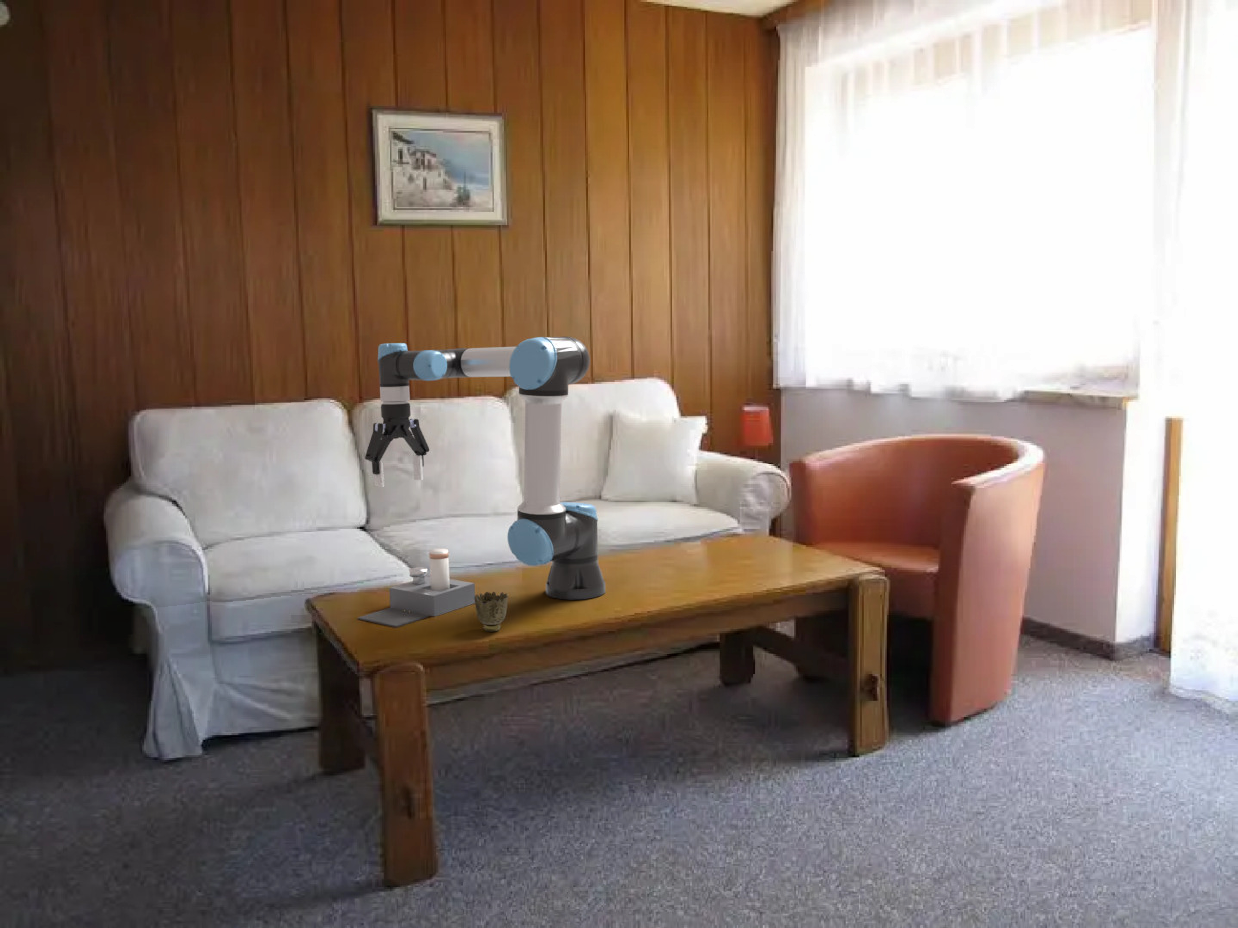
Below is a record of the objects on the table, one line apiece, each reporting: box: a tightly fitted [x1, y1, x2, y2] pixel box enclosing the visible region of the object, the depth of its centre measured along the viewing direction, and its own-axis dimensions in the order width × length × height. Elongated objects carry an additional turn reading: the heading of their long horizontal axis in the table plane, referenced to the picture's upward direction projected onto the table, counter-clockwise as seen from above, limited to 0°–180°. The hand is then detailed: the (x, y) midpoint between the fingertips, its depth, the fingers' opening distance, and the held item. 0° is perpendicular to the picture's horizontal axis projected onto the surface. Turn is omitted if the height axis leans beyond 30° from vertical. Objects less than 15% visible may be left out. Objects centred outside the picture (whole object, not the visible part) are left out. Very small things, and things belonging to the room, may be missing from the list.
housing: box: [388, 575, 476, 618], centre depth 258 cm, size 15×14×5 cm
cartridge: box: [428, 548, 450, 592], centre depth 256 cm, size 5×5×14 cm
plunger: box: [409, 566, 429, 585], centre depth 260 cm, size 4×4×6 cm
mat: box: [357, 607, 429, 629], centre depth 248 cm, size 13×10×1 cm
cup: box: [474, 591, 509, 633], centre depth 236 cm, size 8×7×8 cm
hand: (399, 483), depth 278 cm, fingers open, 13 cm apart
